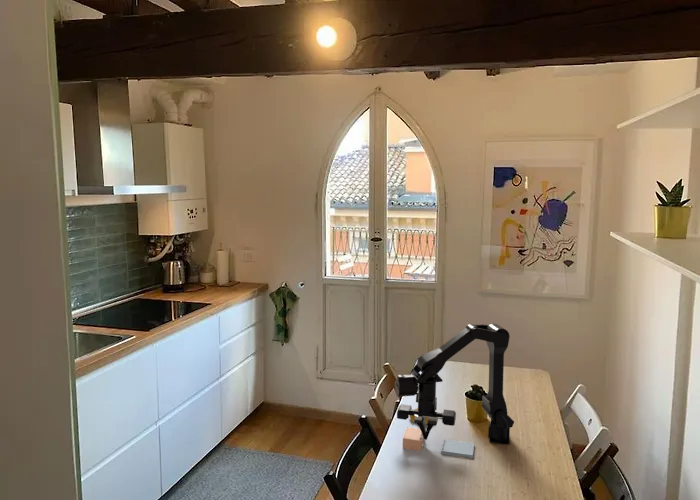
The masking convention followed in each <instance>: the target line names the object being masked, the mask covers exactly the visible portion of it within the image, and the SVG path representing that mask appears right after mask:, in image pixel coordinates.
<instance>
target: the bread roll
mask: <svg viewBox="0 0 700 500" xmlns="http://www.w3.org/2000/svg"><path fill="white" fill-rule="evenodd" d="M414 410H418V407H417V408H415V409H414ZM409 419H410V421H411V422H412V423H414V420H415V416H411V415H409ZM428 420H429V418H427V417H425V424H426V426H427V423H428Z"/></svg>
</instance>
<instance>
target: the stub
mask: <svg viewBox="0 0 700 500" xmlns="http://www.w3.org/2000/svg"><path fill="white" fill-rule="evenodd" d="M424 442H425V439H424V437H423V434H422V432H421V430H420V428H416V427H406V430H405V431H404V433H403V437H402V449H407V450H410V451H412V450H414V451H419V452H421V451H422V448H423V445H424Z"/></svg>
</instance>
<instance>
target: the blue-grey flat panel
mask: <svg viewBox="0 0 700 500" xmlns="http://www.w3.org/2000/svg"><path fill="white" fill-rule="evenodd" d="M474 449H475V443H474V442H469V441H459V440H454V439H453V440H452V439H446V438H443V442H442V445H441V449H440V450H441V451H440V454H441V455H446V456H447V455H448V456H454V457H459V458H460V457H461V458H470V459H473V458H474Z"/></svg>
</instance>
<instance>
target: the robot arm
mask: <svg viewBox="0 0 700 500" xmlns="http://www.w3.org/2000/svg"><path fill="white" fill-rule="evenodd" d="M510 337H511V336H510V333H509V331H508V330H507V329H505V328H504V327H502V326H501V325H499V324H498V323H491V324H472V323H470V324H467V325H466V326H465V328H463V329H462V330H461V331H459V332H458V333H457V334H455V335H454V336H453V337H451V338H450V339H449V340H447V341H446V342H445V343H443V344H442V345H440V347H438V348H436V349H434V350H431V351H430V350H429V351H427V352H425V353H424V354H421V355H420V356H419V357H418V358H417V362H416V364H415V366H414V367H413V368H412V370H411V371H410V374H397V375H396V378H395V382H394V392H395V397H396V398H397V397H398V398H399V397H414V396H415V402H416V403H417V408H418V410H415V409H412V405H410V404H401V403H400V405H399V406H398V409H397V410H396V418H397V419H398V420H405V421H406V420H408V419H410V415H411V416H415V420H414V422H413V423H414V424H416V425H417V426H418V429H420V430H421V432H422V434H423V437H424V441H426V440H428V437H429V434H430V432H431V430H432V428H433V427H436V426H437V425H438V421H439V420H441V422H442V424H443V425H445V426H451V427H452V426H455V425H456V420H457V412H456V411H455V410H450V409H443V412H438V411H437V407H438V406H437V405H438V404H437V403H438V402H437V401H438V400H437V399H438V398H437V396H436V395H437V383H442V382H443V381H444V380H443V378H441V376H440V375H439V373H440V371H442V369H443V368H444V366H445V364H446V363H447V362H448V361H449V360H450V359H452V357H454V356H455V355H456V354H458V353H459V352H460V351H462V350H463V349H465V348H466V347H467V346H469V344H471V343H472V342H474V341H475V340H481V341H484V342H486V345H487V348H488V352H489V353H488V354H489V356H488V357H489V359H488V392H487V394H486V395H482V396H481V399H482V403H481V407H482V409H483V411H484V412H485V414H487V416H488V418H490V423H488V433H487V434H488V436H487V437H488V439H489V441H488V442H489V443H493V444H501V445H508V446H509V445H510V444H511V443H510V441H511V440H510V438H511V437H510V433H511V431H510V430H511V428H513V427H514V423H515V421H514V420H513V418H512V417H510V415H508V414H509V413H508V407H507V404H506V399H505V397H504V369H505V368H504V367H505V366H504V364H505V363H504V362H505V361H504V360H505V352H507V349H508V348H509V343H510ZM420 372H421V373H420ZM425 417H427V418H429V420H428V423H427V425H426V424H425Z"/></svg>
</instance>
